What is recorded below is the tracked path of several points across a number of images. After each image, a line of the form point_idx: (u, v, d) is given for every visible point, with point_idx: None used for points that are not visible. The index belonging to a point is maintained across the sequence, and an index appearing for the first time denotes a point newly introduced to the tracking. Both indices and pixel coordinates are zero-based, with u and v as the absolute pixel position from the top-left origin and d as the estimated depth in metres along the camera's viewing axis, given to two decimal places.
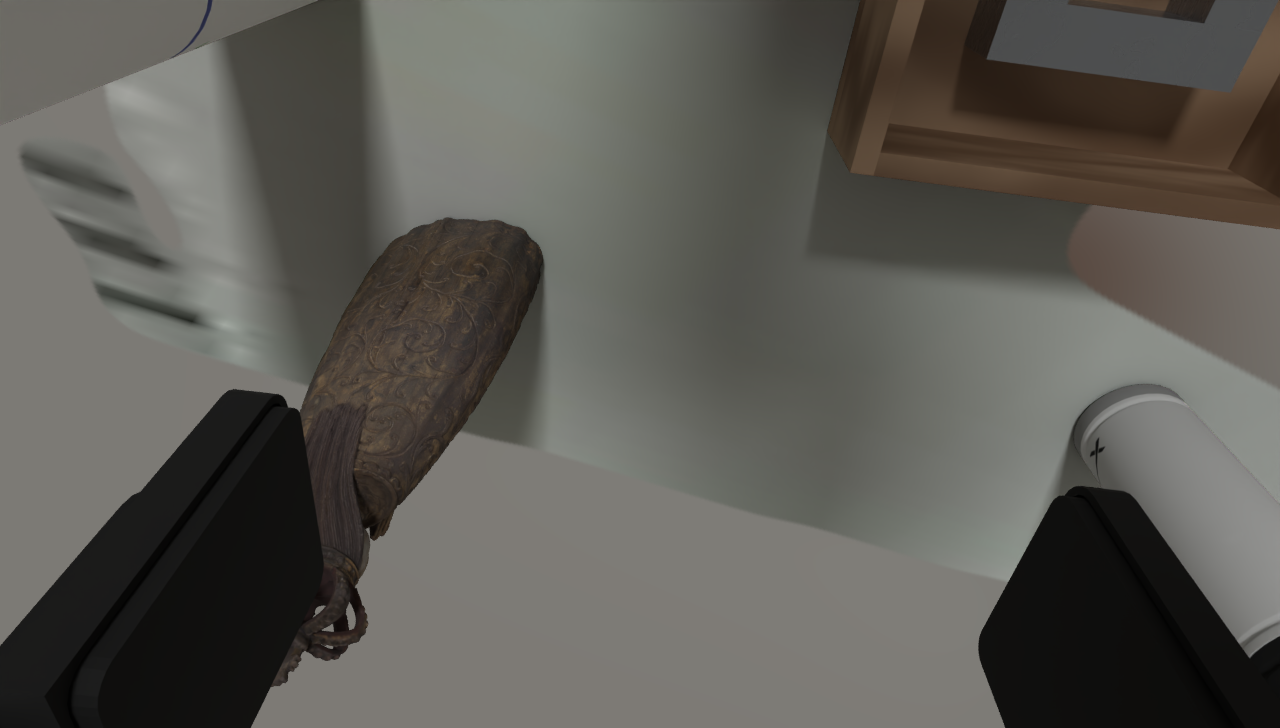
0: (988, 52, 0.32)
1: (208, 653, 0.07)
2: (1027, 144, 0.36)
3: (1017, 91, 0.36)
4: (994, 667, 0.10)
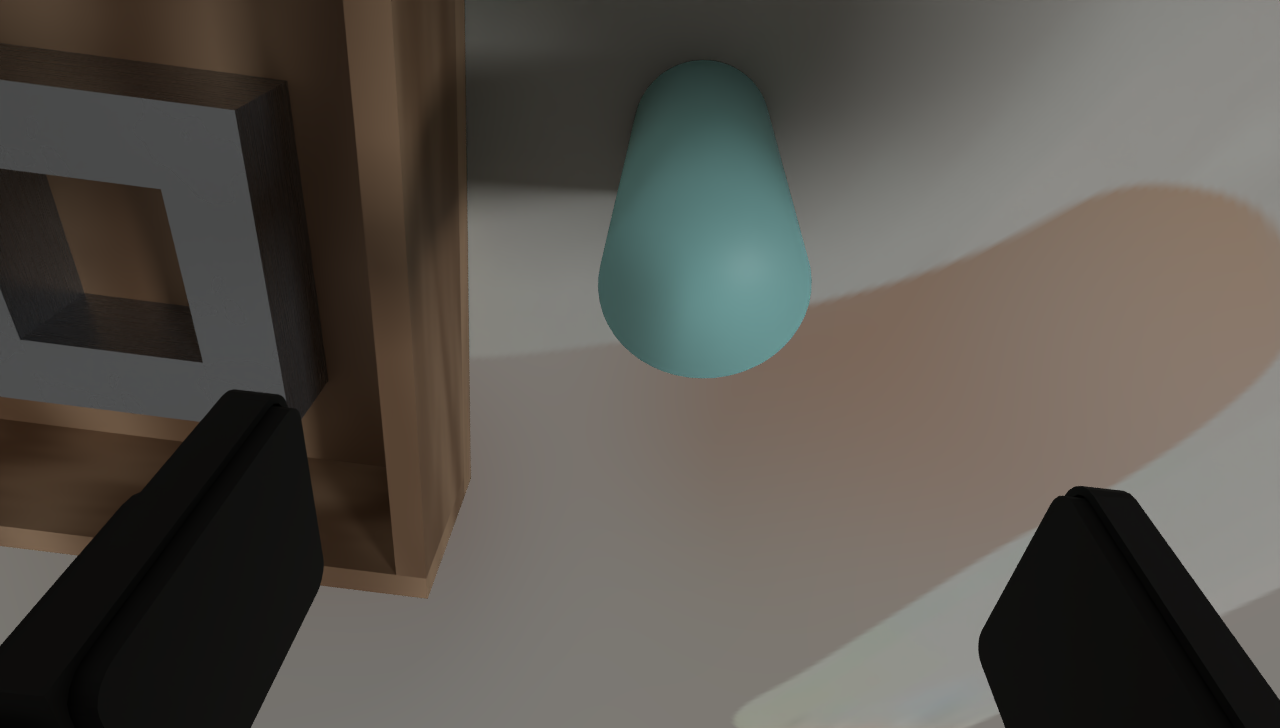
0: None
1: (208, 653, 0.07)
2: None
3: None
4: (994, 667, 0.10)
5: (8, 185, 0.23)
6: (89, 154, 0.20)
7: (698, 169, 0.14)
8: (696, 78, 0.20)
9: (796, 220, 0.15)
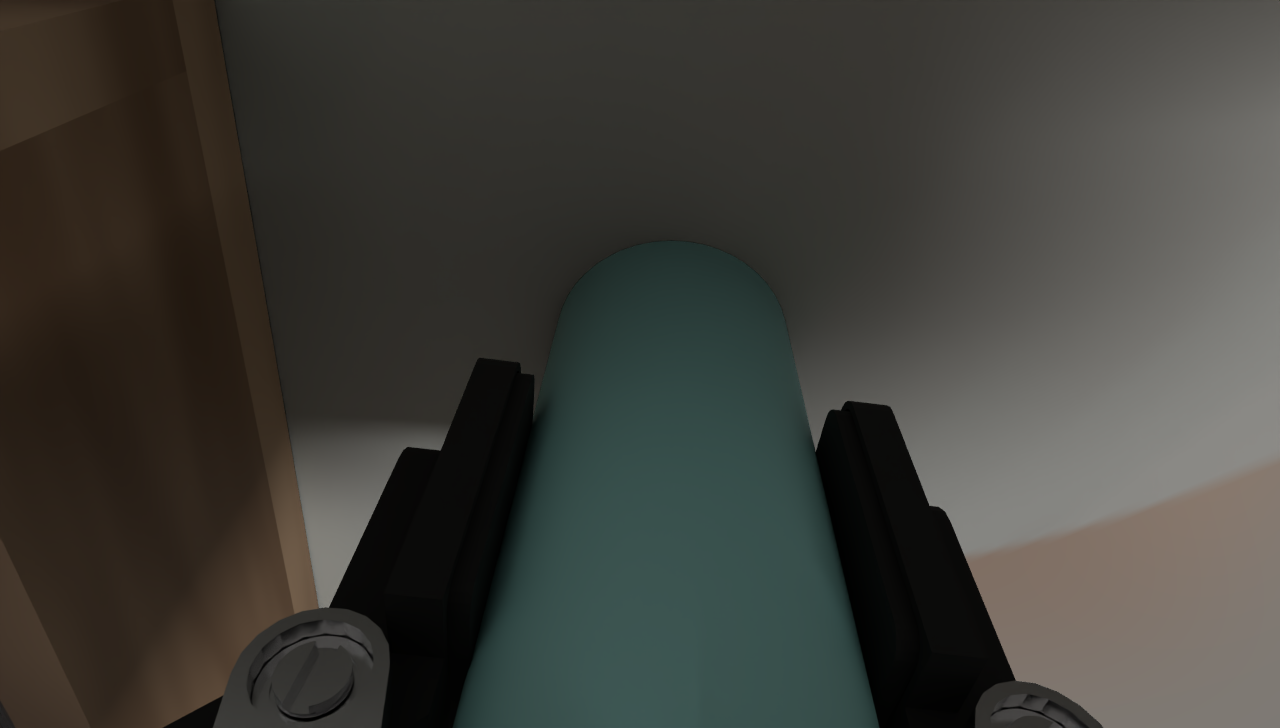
0: None
1: None
2: None
3: None
4: None
5: None
6: None
7: None
8: (656, 303, 0.11)
9: None
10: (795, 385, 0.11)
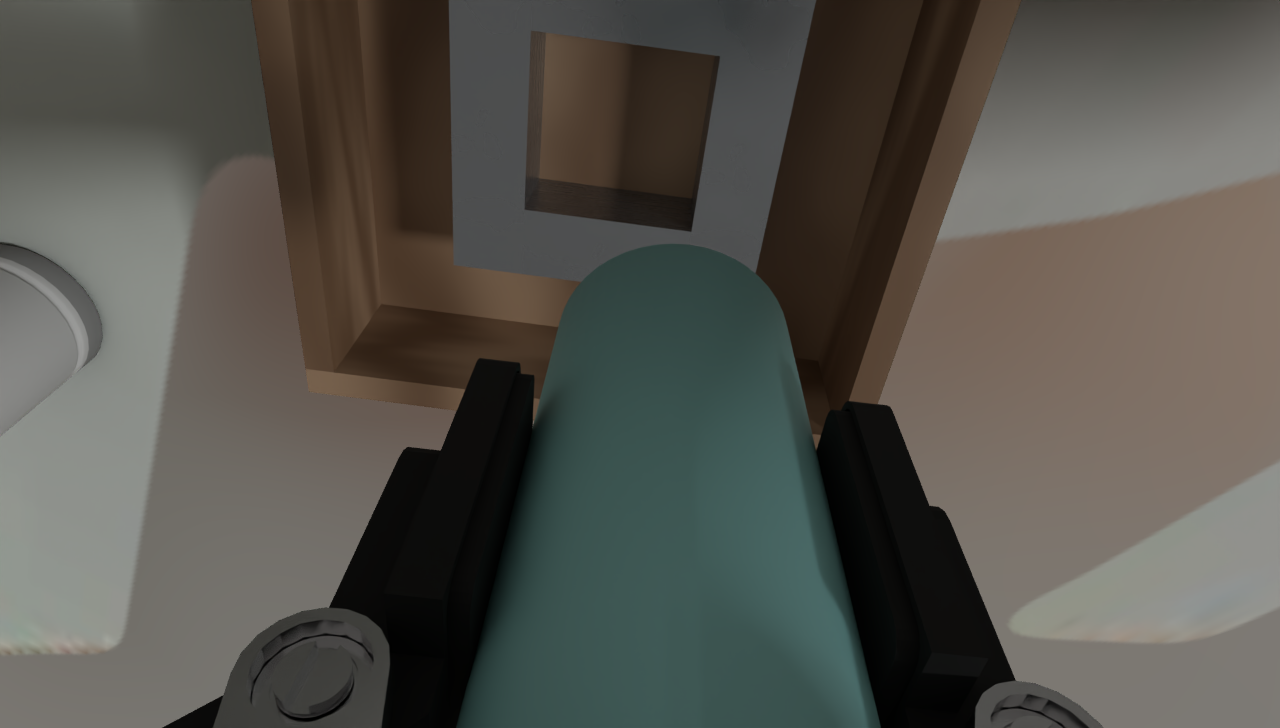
0: None
1: None
2: (355, 49, 0.26)
3: (424, 18, 0.26)
4: None
5: (537, 62, 0.25)
6: (666, 22, 0.22)
7: None
8: (658, 306, 0.11)
9: None
10: (797, 389, 0.11)
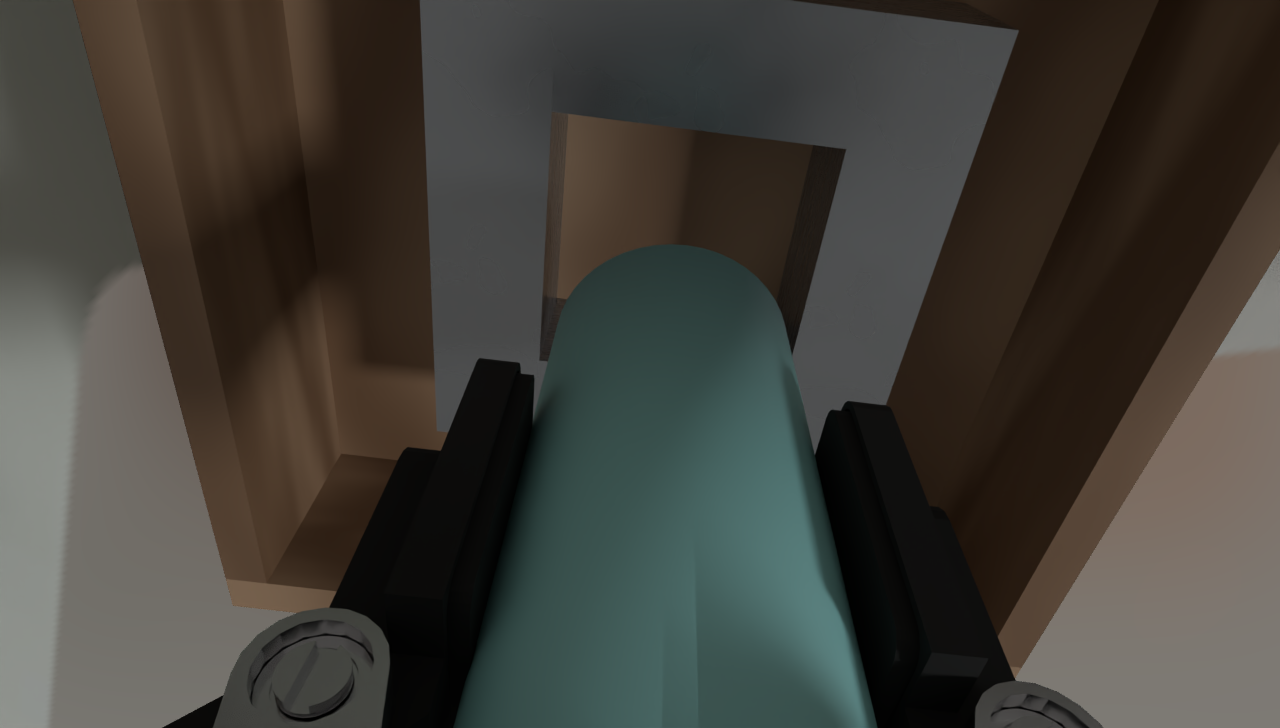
0: None
1: None
2: (289, 128, 0.17)
3: (389, 83, 0.17)
4: None
5: (558, 150, 0.17)
6: (764, 98, 0.14)
7: None
8: (656, 307, 0.11)
9: None
10: (795, 390, 0.11)
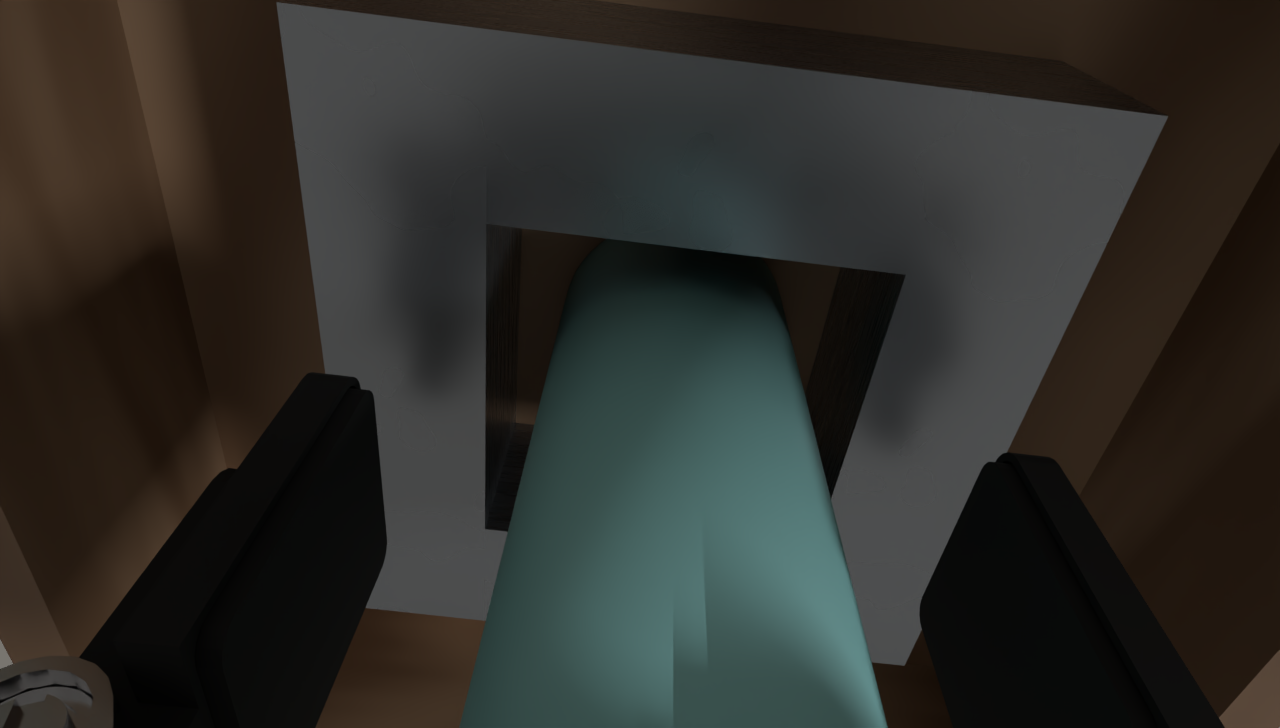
0: (301, 5, 0.09)
1: (301, 618, 0.08)
2: (149, 221, 0.13)
3: (282, 162, 0.13)
4: (932, 630, 0.10)
5: (506, 258, 0.12)
6: (791, 208, 0.10)
7: (652, 686, 0.06)
8: (660, 272, 0.12)
9: None
10: (789, 348, 0.12)
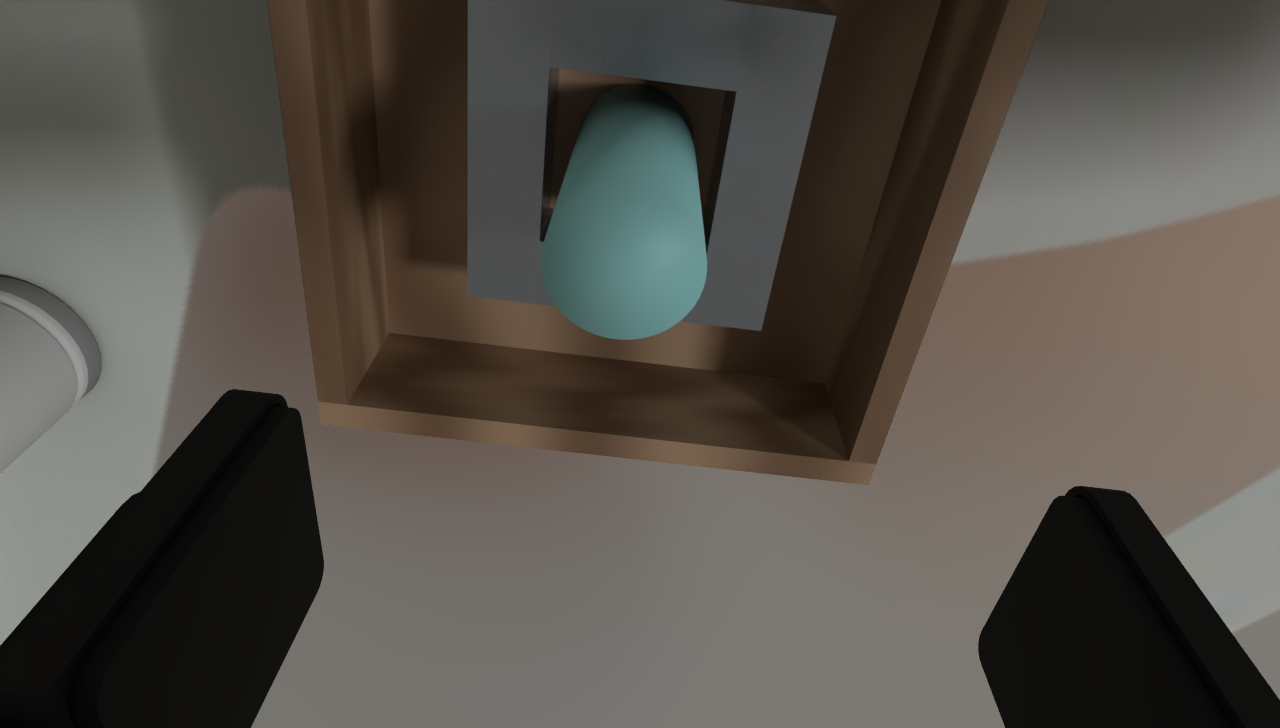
0: None
1: (208, 653, 0.07)
2: (368, 82, 0.26)
3: (437, 52, 0.26)
4: (994, 667, 0.10)
5: (552, 96, 0.25)
6: (683, 58, 0.23)
7: (617, 173, 0.18)
8: (627, 99, 0.24)
9: (697, 213, 0.19)
10: (688, 136, 0.24)
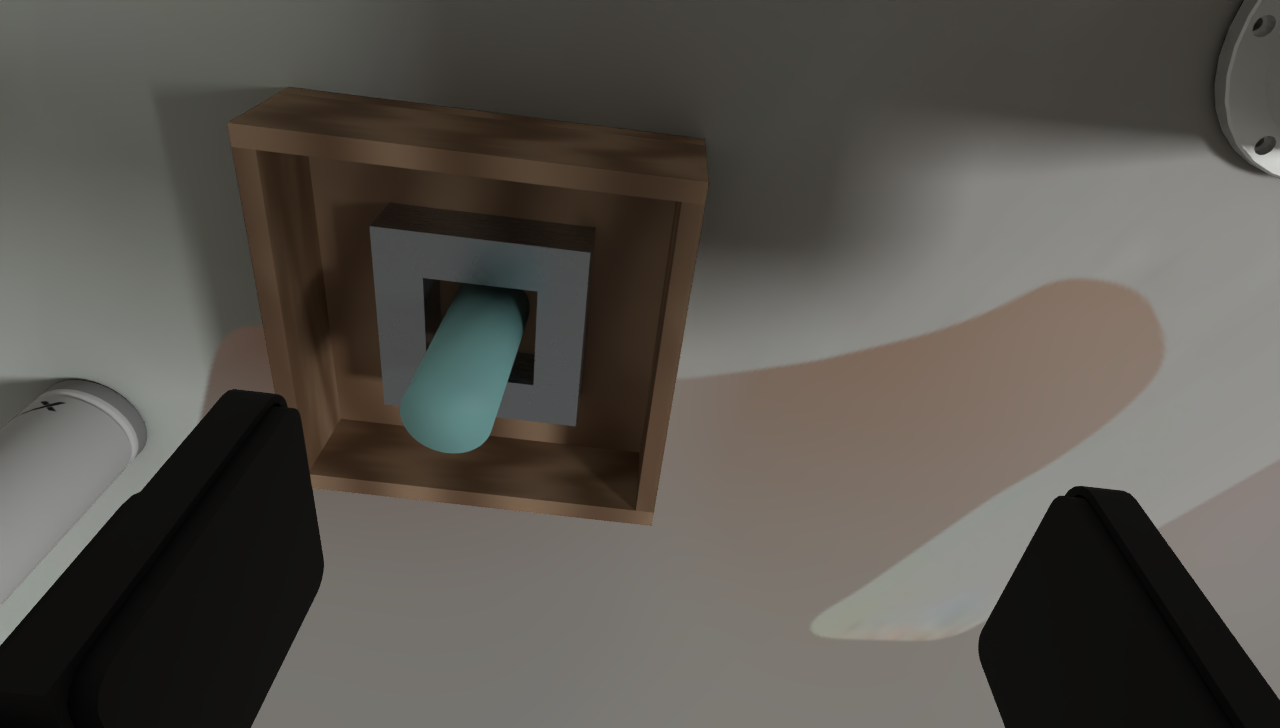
0: (375, 226, 0.36)
1: (208, 653, 0.07)
2: (318, 273, 0.41)
3: (361, 254, 0.41)
4: (994, 667, 0.10)
5: (432, 285, 0.40)
6: (503, 274, 0.37)
7: (441, 365, 0.33)
8: (476, 290, 0.39)
9: (490, 384, 0.34)
10: (514, 313, 0.39)
